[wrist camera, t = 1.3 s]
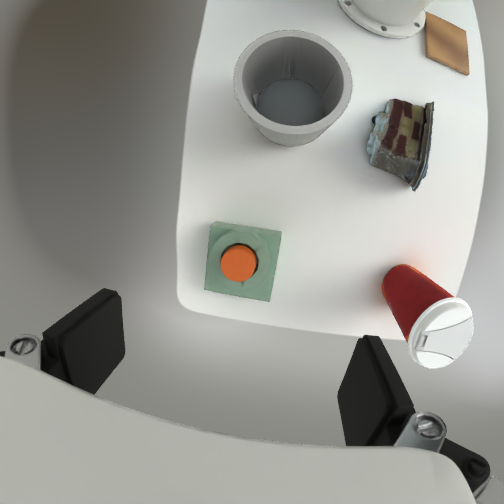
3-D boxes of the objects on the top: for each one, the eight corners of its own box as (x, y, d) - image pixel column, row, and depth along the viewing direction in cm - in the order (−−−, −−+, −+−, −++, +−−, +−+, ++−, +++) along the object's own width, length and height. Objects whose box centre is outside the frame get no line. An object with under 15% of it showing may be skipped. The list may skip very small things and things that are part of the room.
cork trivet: (423, 13, 23) (425, 11, 22) (463, 32, 23) (465, 30, 22) (425, 56, 25) (428, 55, 25) (466, 75, 25) (469, 74, 24)
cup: (339, 135, 30) (367, 119, 19) (264, 155, 32) (253, 148, 21) (315, 66, 28) (328, 21, 17) (241, 85, 30) (219, 48, 18)
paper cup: (368, 308, 36) (401, 375, 23) (380, 254, 34) (426, 303, 20) (418, 310, 35) (462, 369, 22) (431, 258, 33) (488, 303, 20)
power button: (225, 242, 31) (222, 246, 30) (258, 247, 31) (257, 252, 29) (222, 273, 32) (218, 278, 31) (253, 278, 32) (252, 284, 30)
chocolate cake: (381, 78, 28) (367, 120, 23) (434, 97, 26) (438, 146, 20) (370, 137, 36) (351, 191, 31) (416, 153, 34) (409, 212, 28)
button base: (216, 219, 35) (206, 226, 31) (281, 229, 34) (281, 239, 30) (209, 281, 37) (200, 296, 33) (270, 292, 37) (268, 308, 33)
